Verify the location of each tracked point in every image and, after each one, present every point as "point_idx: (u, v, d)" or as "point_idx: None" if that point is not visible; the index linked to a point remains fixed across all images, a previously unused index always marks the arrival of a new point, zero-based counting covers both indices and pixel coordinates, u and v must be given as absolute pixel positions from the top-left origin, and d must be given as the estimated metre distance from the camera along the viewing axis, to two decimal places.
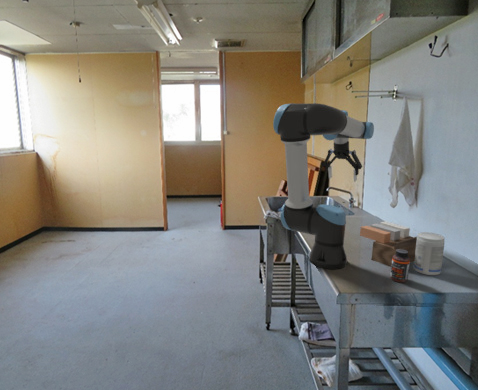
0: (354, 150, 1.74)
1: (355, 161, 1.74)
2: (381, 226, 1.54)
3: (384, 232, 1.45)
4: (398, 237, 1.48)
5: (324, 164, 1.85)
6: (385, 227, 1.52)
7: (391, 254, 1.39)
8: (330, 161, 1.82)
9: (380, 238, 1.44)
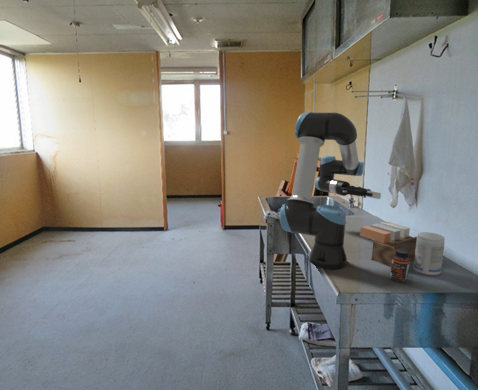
0: None
1: (363, 188, 1.72)
2: (381, 226, 1.54)
3: (384, 232, 1.45)
4: (398, 237, 1.48)
5: (360, 191, 1.66)
6: (385, 227, 1.52)
7: (391, 254, 1.39)
8: (358, 190, 1.69)
9: (380, 238, 1.44)
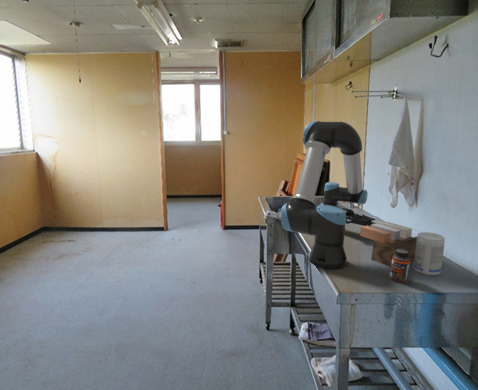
0: None
1: (368, 217, 1.72)
2: (381, 226, 1.54)
3: (384, 232, 1.45)
4: (398, 237, 1.48)
5: (365, 220, 1.65)
6: (385, 227, 1.52)
7: (391, 254, 1.39)
8: (362, 219, 1.68)
9: (380, 238, 1.44)
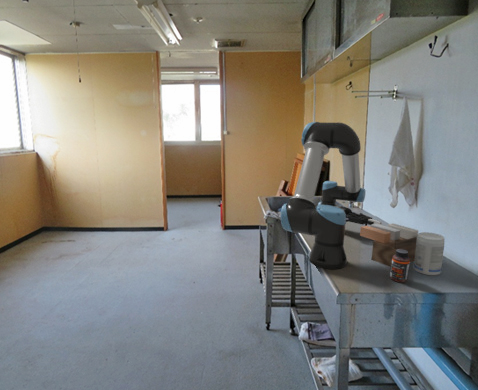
0: None
1: (365, 215, 1.73)
2: (381, 226, 1.54)
3: (384, 232, 1.45)
4: (398, 237, 1.48)
5: (362, 219, 1.67)
6: (385, 227, 1.52)
7: (391, 254, 1.39)
8: (359, 217, 1.70)
9: (380, 238, 1.44)
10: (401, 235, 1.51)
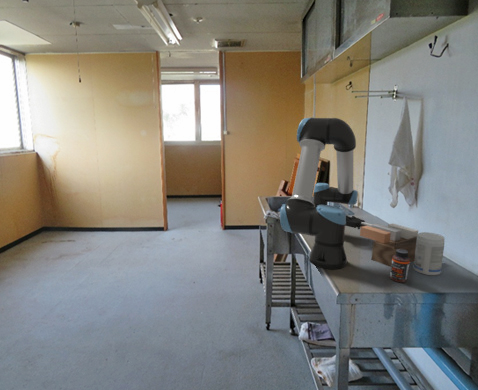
0: None
1: (357, 218, 1.69)
2: (381, 226, 1.54)
3: (384, 232, 1.45)
4: (399, 237, 1.48)
5: (354, 222, 1.62)
6: (386, 227, 1.52)
7: (391, 254, 1.39)
8: (352, 220, 1.65)
9: (380, 238, 1.44)
10: (401, 235, 1.51)
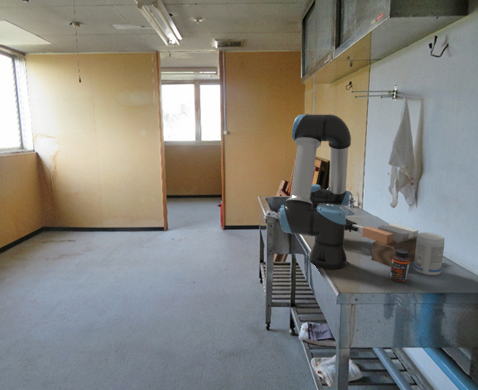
0: None
1: (349, 221, 1.65)
2: (388, 228, 1.51)
3: (386, 233, 1.44)
4: None
5: (346, 224, 1.58)
6: (393, 229, 1.49)
7: (391, 254, 1.39)
8: None
9: (382, 239, 1.43)
10: None
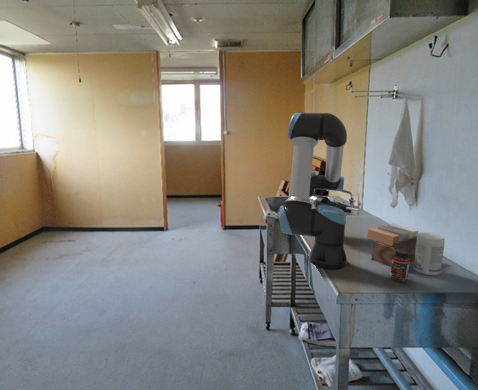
0: None
1: (343, 204, 1.69)
2: (388, 228, 1.51)
3: (392, 234, 1.42)
4: None
5: (339, 207, 1.63)
6: (393, 229, 1.49)
7: (391, 254, 1.39)
8: (337, 206, 1.65)
9: (388, 241, 1.41)
10: None
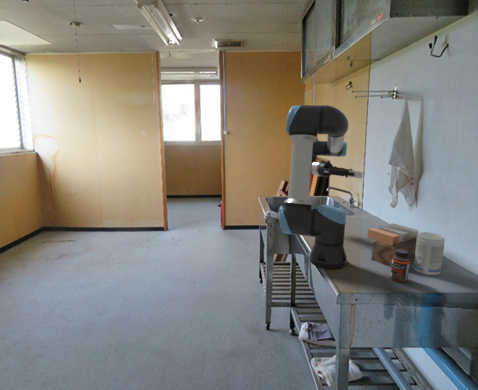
0: None
1: (346, 169, 1.68)
2: (388, 228, 1.51)
3: (392, 234, 1.42)
4: None
5: (342, 170, 1.61)
6: (393, 229, 1.49)
7: (391, 254, 1.39)
8: None
9: (388, 241, 1.41)
10: None
